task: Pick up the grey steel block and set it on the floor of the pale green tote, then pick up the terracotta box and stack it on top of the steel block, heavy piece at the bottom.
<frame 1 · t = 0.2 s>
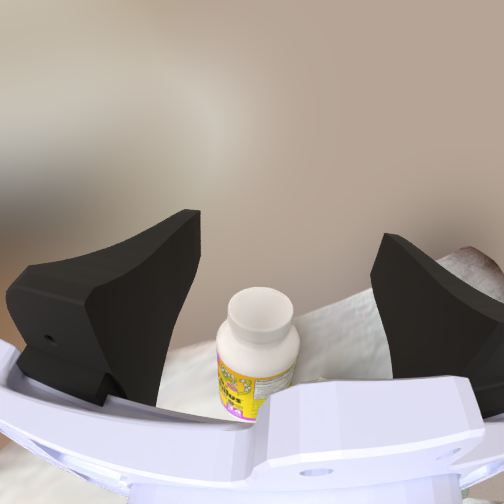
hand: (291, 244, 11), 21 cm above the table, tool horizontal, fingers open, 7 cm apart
steel block: (461, 493, 15), on the table
supplement bottle: (252, 399, 28), on the table
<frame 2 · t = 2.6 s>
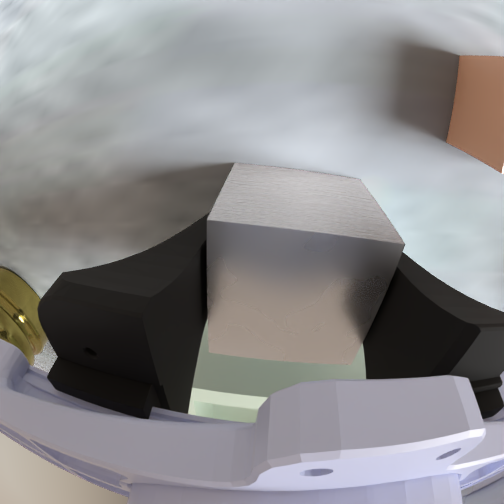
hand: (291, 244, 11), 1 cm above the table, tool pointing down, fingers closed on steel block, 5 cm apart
steel block: (290, 226, 13), on the table, touching gripper
tote: (302, 391, 19), on the table
terracotta box: (486, 112, 9), on the table
brass calibration weight: (21, 301, 18), on the table
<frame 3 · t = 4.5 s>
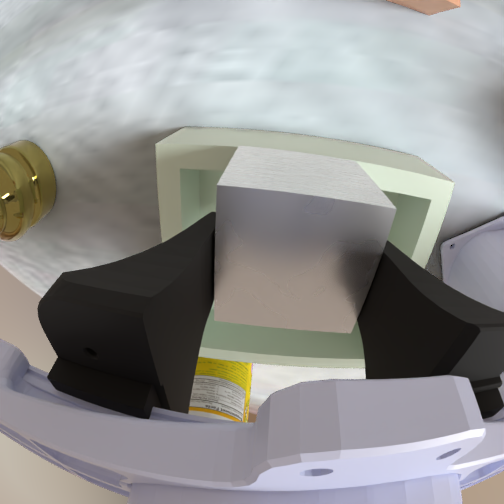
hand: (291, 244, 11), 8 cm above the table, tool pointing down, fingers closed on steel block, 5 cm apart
steel block: (291, 205, 13), point 6 cm above the table, touching gripper
supplement bottle: (220, 347, 28), on the table
tote: (292, 241, 21), on the table
brass calibration weight: (30, 178, 20), on the table
when the fingers open (5 cm above the table, at t = 6.0 s): steel block stays where it is, resting on tote.
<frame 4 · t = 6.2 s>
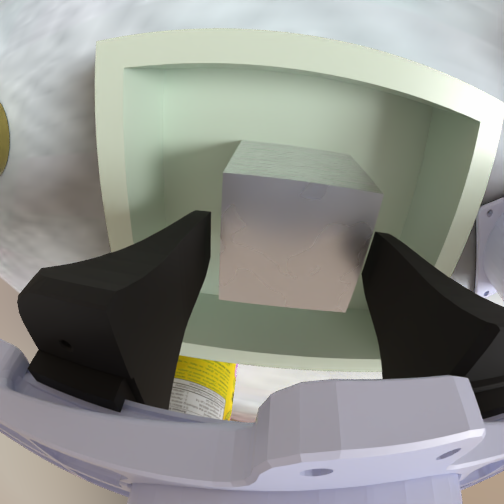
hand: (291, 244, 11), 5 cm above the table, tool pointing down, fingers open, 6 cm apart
steel block: (289, 196, 14), point 1 cm above the table, touching tote
supplement bottle: (198, 343, 22), on the table
tote: (288, 197, 15), on the table
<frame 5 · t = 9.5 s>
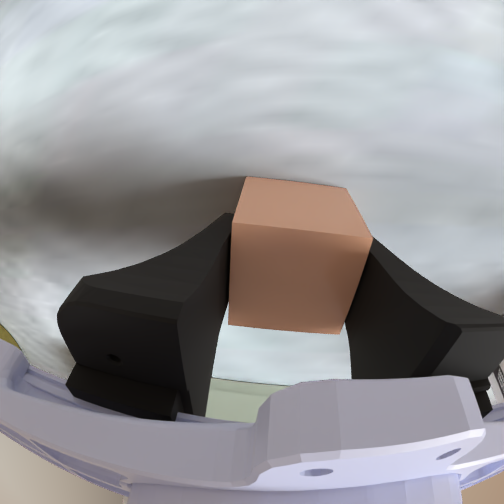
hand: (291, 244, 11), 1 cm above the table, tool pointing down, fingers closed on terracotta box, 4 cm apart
tote: (196, 417, 23), on the table
terracotta box: (290, 226, 13), on the table, touching gripper
brass calibration weight: (0, 335, 22), on the table
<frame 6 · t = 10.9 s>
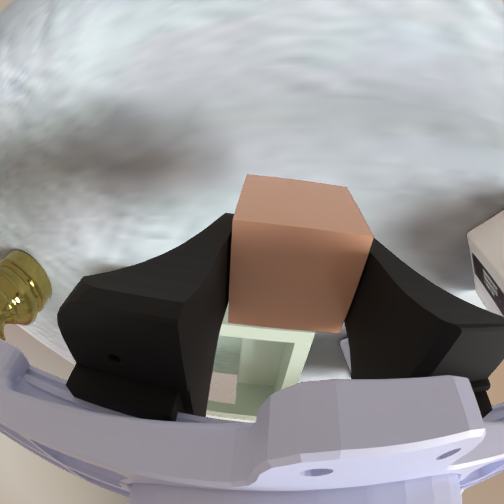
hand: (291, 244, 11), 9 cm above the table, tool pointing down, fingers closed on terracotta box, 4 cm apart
steel block: (215, 342, 27), point 1 cm above the table, touching tote
container: (499, 244, 20), on the table
tote: (217, 337, 28), on the table
terracotta box: (290, 224, 12), point 8 cm above the table, touching gripper
brass calibration weight: (30, 274, 27), on the table
when the fingers open (9 cm above the table, at t = 12.6 s): terracotta box drops 1 cm, resting on steel block.
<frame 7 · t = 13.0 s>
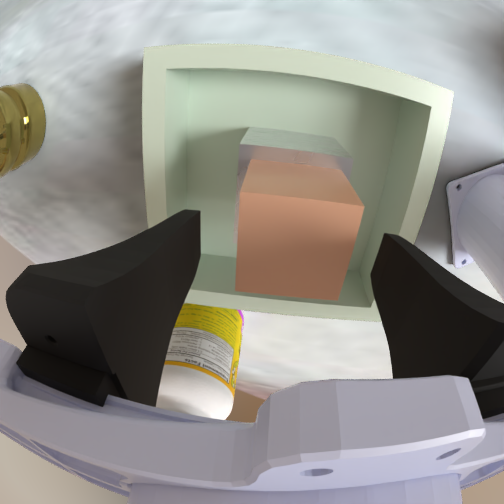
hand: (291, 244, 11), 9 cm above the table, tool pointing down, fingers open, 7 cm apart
steel block: (287, 170, 18), point 1 cm above the table, touching terracotta box, tote
supplement bottle: (208, 307, 26), on the table
tote: (286, 172, 19), on the table
terracotta box: (291, 205, 14), point 6 cm above the table, touching steel block
brass calibration weight: (21, 122, 17), on the table
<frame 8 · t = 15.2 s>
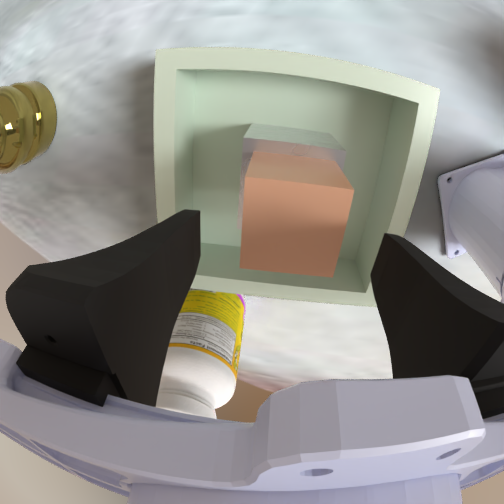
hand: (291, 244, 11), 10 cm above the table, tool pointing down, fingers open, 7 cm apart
steel block: (286, 164, 19), point 1 cm above the table, touching terracotta box, tote
supplement bottle: (211, 296, 27), on the table
tote: (286, 166, 20), on the table
terracotta box: (290, 193, 15), point 6 cm above the table, touching steel block
brass calibration weight: (32, 118, 19), on the table
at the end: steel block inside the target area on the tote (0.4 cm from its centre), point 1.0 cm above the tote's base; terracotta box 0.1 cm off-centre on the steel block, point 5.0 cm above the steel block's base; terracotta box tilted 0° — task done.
